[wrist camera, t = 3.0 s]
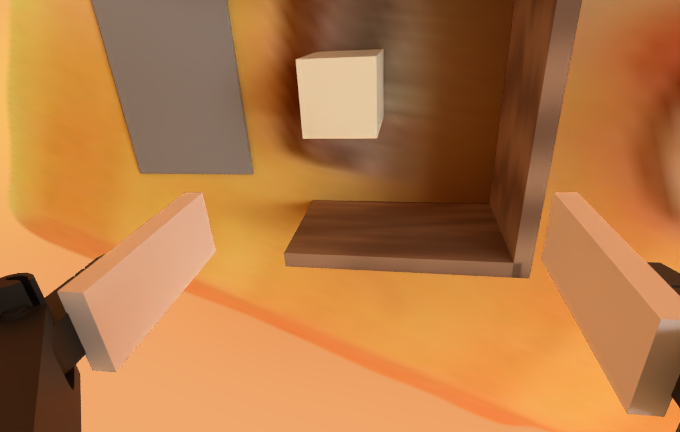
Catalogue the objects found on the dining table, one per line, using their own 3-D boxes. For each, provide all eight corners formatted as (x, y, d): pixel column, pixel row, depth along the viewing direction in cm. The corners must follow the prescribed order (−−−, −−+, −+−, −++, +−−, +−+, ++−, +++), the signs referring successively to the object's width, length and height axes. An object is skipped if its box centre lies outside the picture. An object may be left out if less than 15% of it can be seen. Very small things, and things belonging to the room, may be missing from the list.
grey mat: (93, -5, 34) (90, -6, 34) (224, -15, 32) (222, -16, 32) (142, 171, 41) (140, 173, 41) (253, 172, 39) (251, 174, 39)
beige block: (317, 51, 33) (295, 59, 27) (383, 48, 32) (376, 56, 26) (322, 117, 36) (302, 138, 30) (383, 117, 35) (377, 138, 29)
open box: (288, -83, 29) (235, -126, 21) (547, -109, 26) (614, -173, 18) (314, 211, 40) (285, 266, 31) (501, 216, 37) (529, 278, 28)
